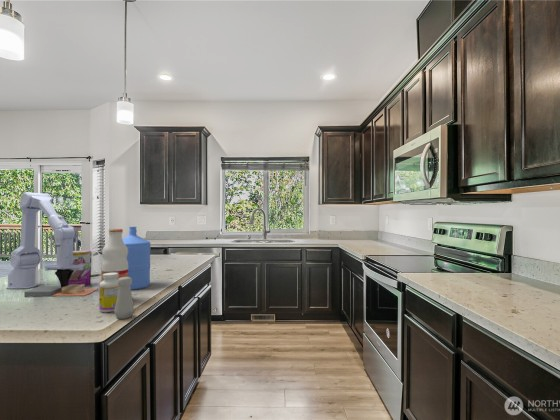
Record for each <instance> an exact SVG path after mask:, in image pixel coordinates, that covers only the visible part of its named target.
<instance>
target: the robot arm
mask: <svg viewBox="0 0 560 420" xmlns="http://www.w3.org/2000/svg"><path fill="white" fill-rule="evenodd" d="M19 210H21V228H20V246H19V247H17V248H15V249H13V250H12V253H11V257H10V261H9V262H10V265H11V266H12V268H10V269H9V271H8V273H7V287H6V289H13V290H14V289H31V288H34V287H37V286H40V285H41V283H36V278H37V277H36V274H37V273H36V272H37V267H38V266H39V265H40V263H41V261H42V256H41V250H40V249H39V248H37V246H35V245H36V244H35V243H36V225H37V214H38V212H40V211H42V213H44V215H45V217H47V218H48V219H47V223H48V225H49V226H50V228H51V229H52V231H53V232H54V233H53V238H54V241H55V242H54V244H55V245H56V263H55V264H52V265H51V264H50V265H48V264H47V265H45V266H44V270H45V271H54V275H55V276H56V278H57V279H58V281H59V284H60V285H59V286H61V288H63V287H65V286H67V285H68V282H69V279H70V277H71V275H72V273H73V272H74V270H83V269H84V265H73V251H74V240H75V239H76V238H77V233H78V231H77V230H76V228H75V227H74V226H71V225H69V224H68V223H67V221H66V220H65V218H64V217H63V216H62V215H61V214H58V213H57V211H56V209H55V208H54V206H53V198H52V196H51V195H50V193H45V192H44V193H42V192H27V191H25V192H24V193H22V195H20V198H19ZM64 268H68V269H64Z"/></svg>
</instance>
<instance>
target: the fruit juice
mask: <svg viewBox="0 0 560 420" xmlns="http://www.w3.org/2000/svg"><path fill="white" fill-rule="evenodd" d="M123 230H124V229H123V228H109V229H108V234H109V237H108V240H107V243H106V244H105V245H104V246H103V248H102V251H101V255H102V258H103V261H102V262H101V267H100V271H101V272H100V273H101V275H100V276H101V277H100V280H101V281H100V283H101V282H102V281H104V279H103V274H105V273H118V278H117V280H118V279H119V278H122V277H128V261H127V255H128V248H127V246H126V245H125V244H124V242H123V240H122V239H123V235H122V234H123Z"/></svg>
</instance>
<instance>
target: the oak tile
mask: <svg viewBox="0 0 560 420" xmlns="http://www.w3.org/2000/svg"><path fill="white" fill-rule="evenodd" d="M85 289H86V286H85V284H82V285H68V286H65V287H63V288H62V294H77V293H79V292H82V291H84V290H85Z"/></svg>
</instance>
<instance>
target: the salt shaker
mask: <svg viewBox="0 0 560 420" xmlns="http://www.w3.org/2000/svg"><path fill="white" fill-rule="evenodd" d="M130 284H132V278H131V277H122V278H119V279H118V285H119V286H120V287H119V292H118V297H117V301H116V306H115V310H114V314H115V316H116V318H117V319H118V320H119V319H120V320H124V319H125V320H126V319H129V318H132V316H133V313H134V310H135V307H134V302H133V296H132V295H133V294H132V290H131V288H130Z"/></svg>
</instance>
